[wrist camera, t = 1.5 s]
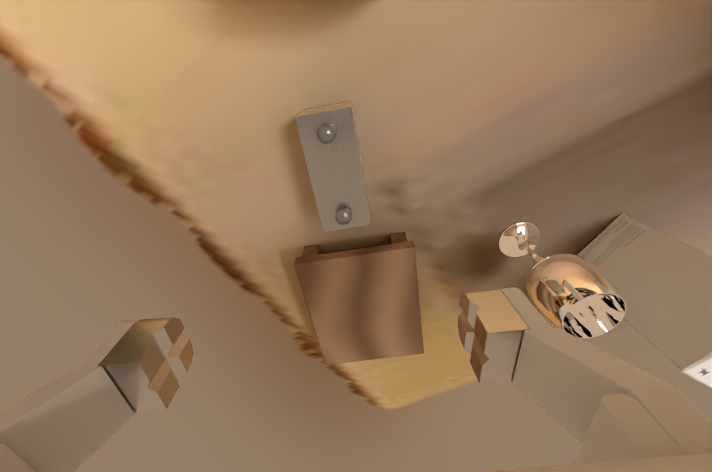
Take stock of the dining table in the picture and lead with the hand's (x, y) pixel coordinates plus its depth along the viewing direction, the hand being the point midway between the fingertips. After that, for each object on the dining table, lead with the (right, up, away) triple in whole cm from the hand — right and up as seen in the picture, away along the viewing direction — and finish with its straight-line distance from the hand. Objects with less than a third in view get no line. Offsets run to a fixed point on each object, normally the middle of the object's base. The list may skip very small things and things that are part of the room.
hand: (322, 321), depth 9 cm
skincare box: (+29, +1, +26) cm, 39 cm away
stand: (+2, -4, +28) cm, 28 cm away
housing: (-1, +10, +21) cm, 23 cm away
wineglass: (+19, +2, +25) cm, 32 cm away
